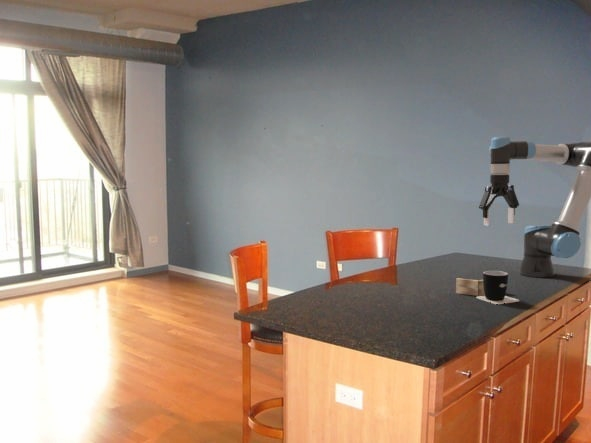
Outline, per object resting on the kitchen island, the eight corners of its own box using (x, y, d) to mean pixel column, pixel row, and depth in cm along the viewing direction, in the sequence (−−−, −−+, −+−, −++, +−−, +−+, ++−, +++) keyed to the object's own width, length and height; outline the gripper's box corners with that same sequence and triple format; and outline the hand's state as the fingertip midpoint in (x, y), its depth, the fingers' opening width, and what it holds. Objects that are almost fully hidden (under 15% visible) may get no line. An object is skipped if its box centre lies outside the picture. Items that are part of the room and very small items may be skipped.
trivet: (497, 295, 229) (498, 293, 229) (518, 301, 219) (519, 299, 219) (476, 298, 224) (476, 296, 224) (496, 304, 214) (496, 303, 214)
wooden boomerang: (488, 288, 240) (488, 274, 239) (502, 292, 233) (502, 278, 232) (454, 292, 233) (455, 278, 232) (468, 297, 226) (468, 282, 225)
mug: (499, 303, 214) (500, 276, 213) (478, 298, 221) (478, 272, 219) (515, 297, 222) (516, 271, 221) (493, 293, 229) (494, 268, 227)
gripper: (515, 172, 249) (513, 221, 251) (470, 175, 238) (469, 225, 241) (528, 173, 242) (527, 223, 245) (483, 175, 232) (482, 227, 234)
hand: (498, 224), depth 243 cm, fingers open, 13 cm apart
